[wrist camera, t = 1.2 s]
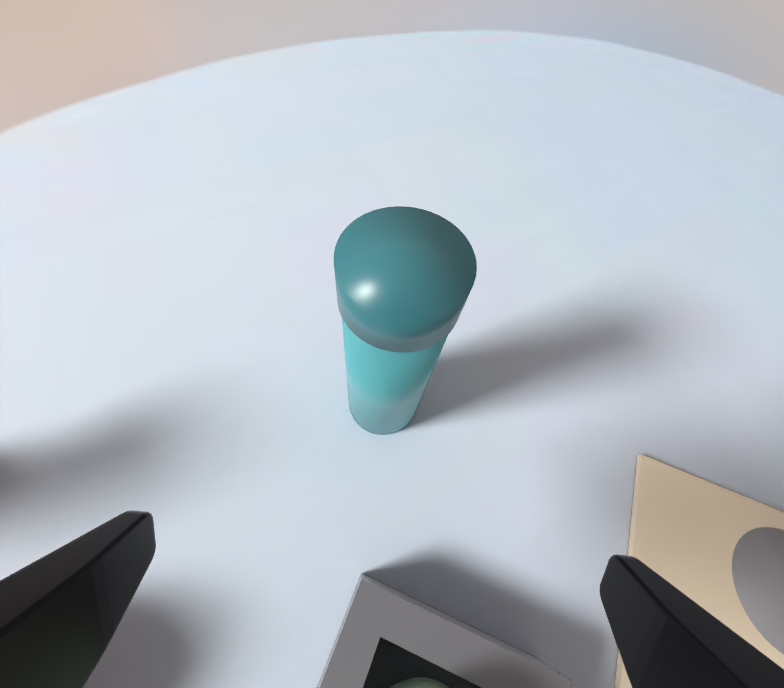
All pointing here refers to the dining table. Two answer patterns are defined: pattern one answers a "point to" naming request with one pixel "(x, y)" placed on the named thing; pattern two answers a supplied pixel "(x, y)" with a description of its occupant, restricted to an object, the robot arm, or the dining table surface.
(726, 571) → the sheet
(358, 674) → the button housing
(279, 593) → the dining table surface
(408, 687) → the button
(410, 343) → the ball
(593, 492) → the dining table surface
